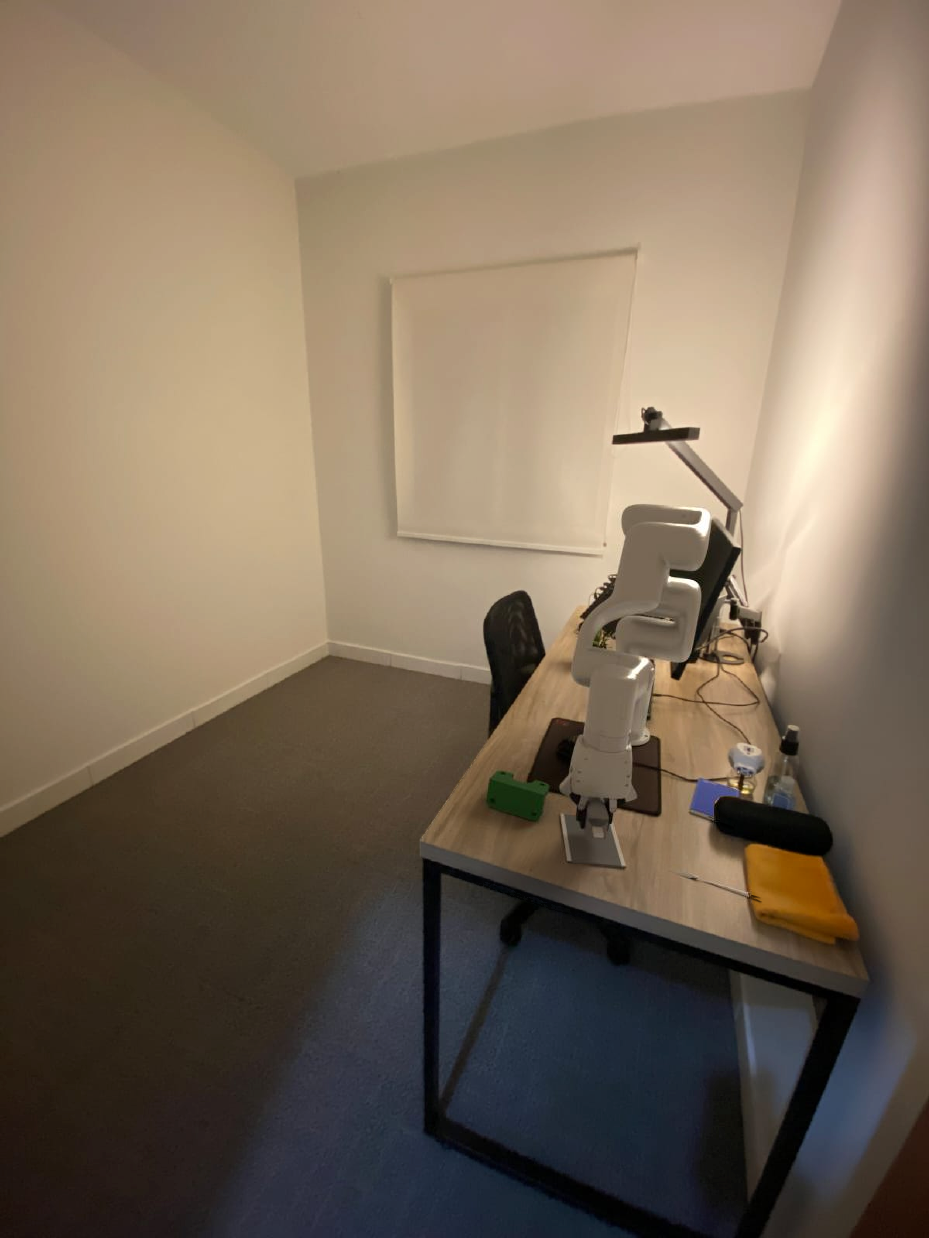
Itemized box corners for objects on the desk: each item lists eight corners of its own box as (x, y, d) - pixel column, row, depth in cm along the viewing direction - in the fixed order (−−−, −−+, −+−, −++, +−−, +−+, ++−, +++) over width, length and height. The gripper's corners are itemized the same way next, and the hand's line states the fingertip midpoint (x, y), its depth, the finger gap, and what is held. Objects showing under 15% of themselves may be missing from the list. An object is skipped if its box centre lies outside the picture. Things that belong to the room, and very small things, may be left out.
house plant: (563, 659, 174) (567, 615, 169) (599, 658, 177) (605, 615, 172) (579, 676, 161) (584, 629, 156) (618, 674, 163) (625, 628, 158)
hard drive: (698, 776, 109) (690, 807, 99) (740, 790, 105) (735, 823, 95) (697, 782, 110) (688, 814, 100) (738, 796, 106) (733, 830, 96)
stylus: (641, 849, 88) (761, 887, 81) (640, 853, 88) (760, 891, 81) (639, 865, 85) (764, 906, 78) (638, 870, 85) (763, 911, 78)
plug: (580, 814, 92) (584, 787, 91) (599, 816, 92) (603, 789, 90) (587, 844, 85) (591, 816, 83) (607, 846, 85) (612, 818, 83)
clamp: (534, 823, 100) (558, 789, 98) (527, 836, 95) (551, 800, 93) (487, 786, 104) (509, 752, 102) (477, 796, 99) (500, 761, 97)
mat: (559, 815, 97) (560, 813, 97) (611, 819, 96) (611, 818, 96) (567, 862, 85) (567, 860, 85) (625, 868, 85) (625, 865, 85)
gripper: (649, 728, 87) (633, 814, 92) (555, 721, 88) (545, 806, 93) (662, 752, 80) (644, 844, 85) (559, 743, 81) (548, 835, 86)
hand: (592, 823), depth 89 cm, fingers closed on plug, 3 cm apart
